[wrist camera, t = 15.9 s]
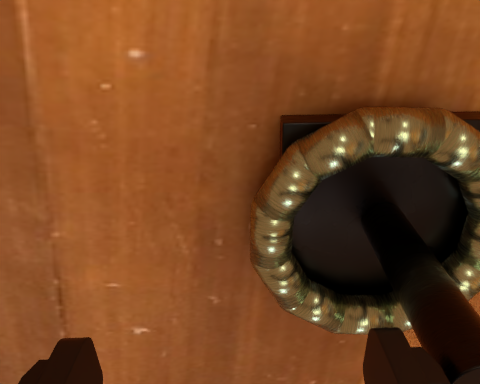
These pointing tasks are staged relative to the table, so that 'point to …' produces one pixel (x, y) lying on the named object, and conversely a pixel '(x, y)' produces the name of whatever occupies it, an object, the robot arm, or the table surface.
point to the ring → (336, 160)
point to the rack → (391, 243)
